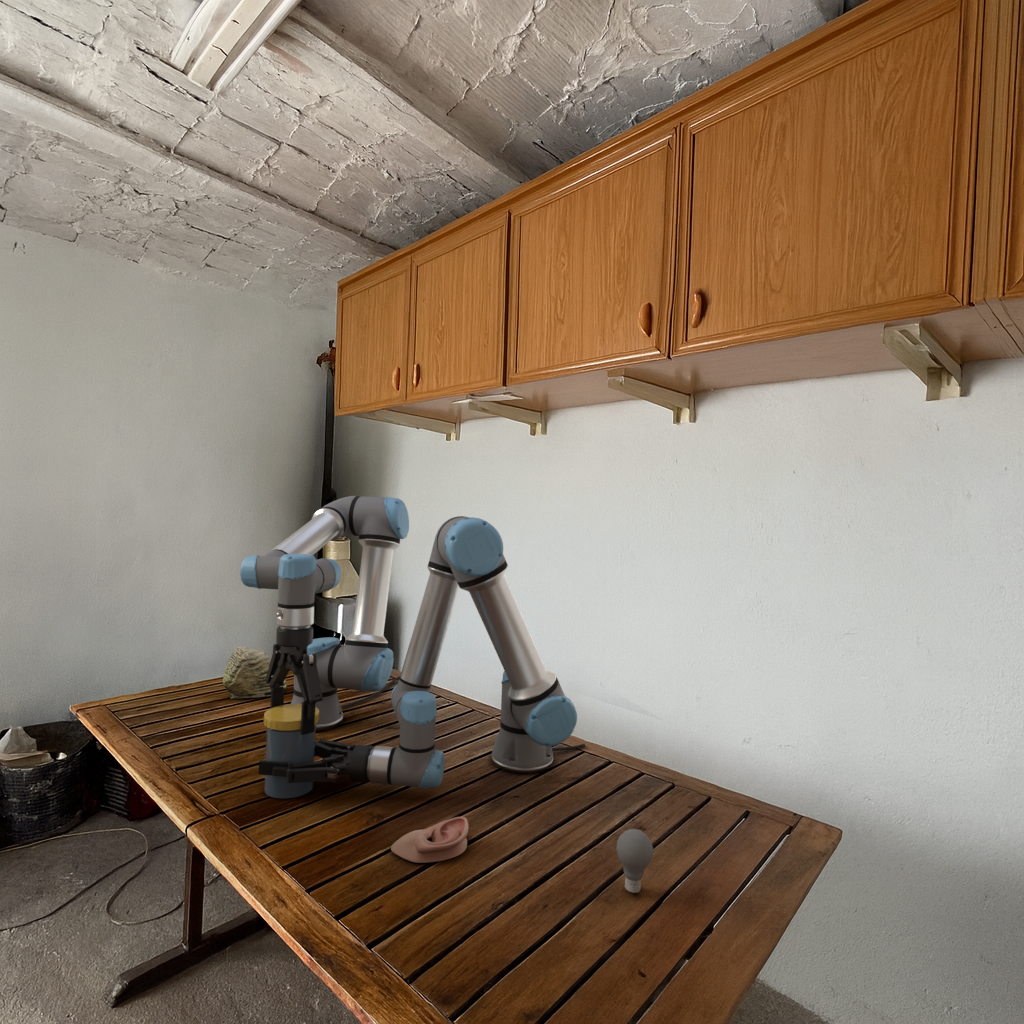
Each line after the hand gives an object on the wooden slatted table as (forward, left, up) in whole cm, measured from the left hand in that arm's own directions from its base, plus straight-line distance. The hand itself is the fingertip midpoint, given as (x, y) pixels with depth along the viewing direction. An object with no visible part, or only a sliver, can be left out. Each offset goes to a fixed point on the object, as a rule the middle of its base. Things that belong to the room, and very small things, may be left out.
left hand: (291, 725), depth 137 cm
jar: (0, 0, -14) cm, 14 cm away
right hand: (+2, -4, -7) cm, 8 cm away
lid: (0, 0, +2) cm, 2 cm away
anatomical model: (-4, +39, -14) cm, 42 cm away
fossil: (-27, -63, -14) cm, 70 cm away
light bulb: (-18, +73, -14) cm, 77 cm away
